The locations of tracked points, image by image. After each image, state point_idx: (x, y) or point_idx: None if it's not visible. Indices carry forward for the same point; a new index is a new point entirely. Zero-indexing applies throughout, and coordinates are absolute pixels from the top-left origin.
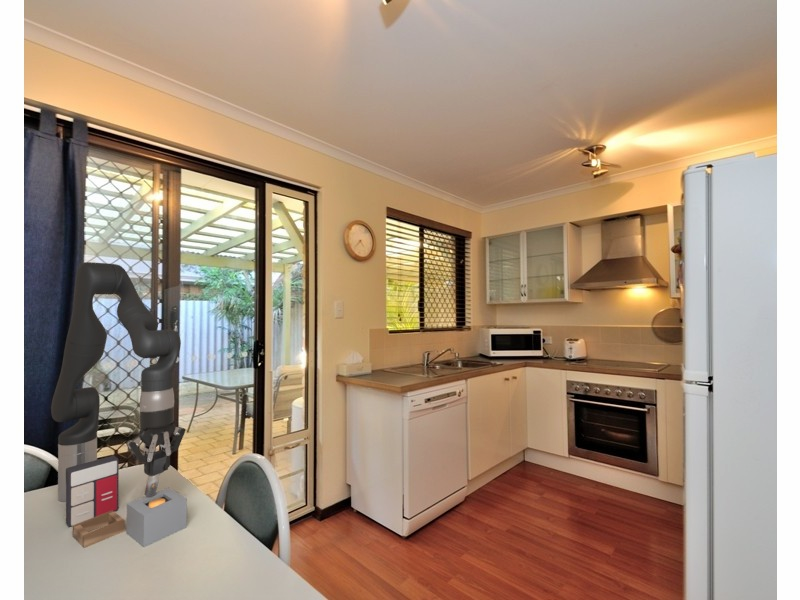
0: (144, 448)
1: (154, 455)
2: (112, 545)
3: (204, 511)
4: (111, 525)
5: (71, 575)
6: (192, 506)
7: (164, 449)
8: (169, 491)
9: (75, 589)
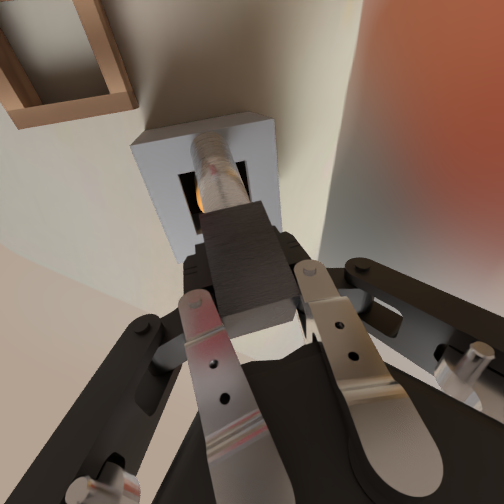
0: (189, 357)
1: (242, 323)
2: (113, 160)
3: (313, 159)
4: (94, 113)
5: (45, 224)
6: (308, 105)
7: (303, 332)
8: (265, 158)
9: (69, 269)
